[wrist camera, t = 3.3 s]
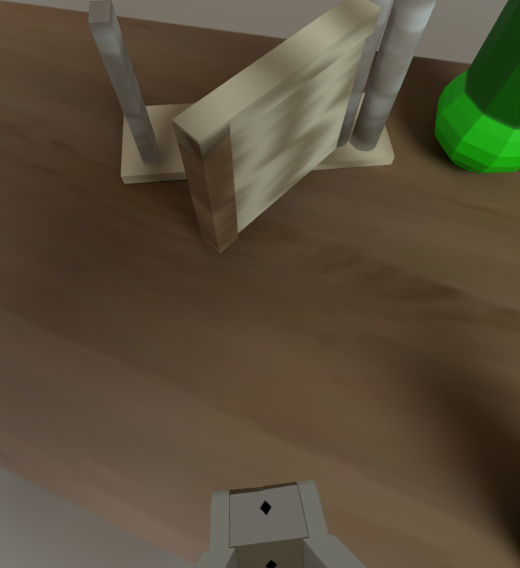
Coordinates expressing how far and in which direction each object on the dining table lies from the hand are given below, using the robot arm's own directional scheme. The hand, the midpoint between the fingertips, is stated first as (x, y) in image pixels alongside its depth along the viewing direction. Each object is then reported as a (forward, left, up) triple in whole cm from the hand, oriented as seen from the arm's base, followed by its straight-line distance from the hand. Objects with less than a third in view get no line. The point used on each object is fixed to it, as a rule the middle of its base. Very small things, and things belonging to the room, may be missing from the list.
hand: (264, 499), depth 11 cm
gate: (-4, -21, -13) cm, 25 cm away
